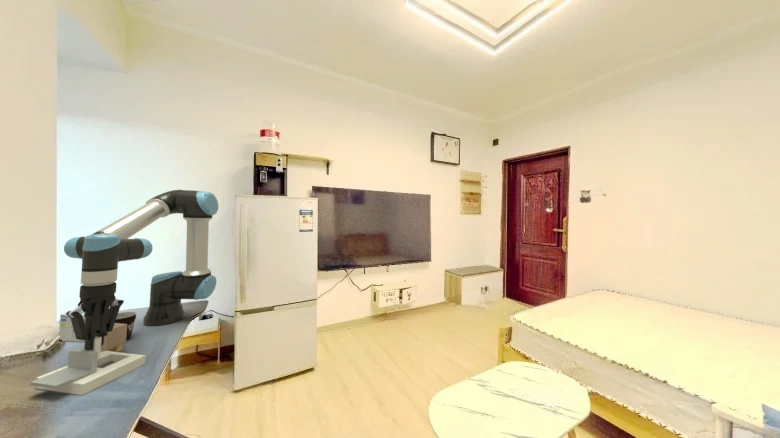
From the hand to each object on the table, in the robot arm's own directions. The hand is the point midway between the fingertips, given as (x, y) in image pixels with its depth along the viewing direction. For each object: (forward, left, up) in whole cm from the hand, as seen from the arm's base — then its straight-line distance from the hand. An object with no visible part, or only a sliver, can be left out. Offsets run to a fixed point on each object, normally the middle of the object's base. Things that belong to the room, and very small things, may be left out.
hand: (93, 358), depth 78 cm
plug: (-13, -12, -6) cm, 18 cm away
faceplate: (-1, 0, -6) cm, 6 cm away
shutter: (+6, 0, -2) cm, 7 cm away
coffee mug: (-23, -19, -6) cm, 30 cm away
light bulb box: (-20, -35, -6) cm, 41 cm away
